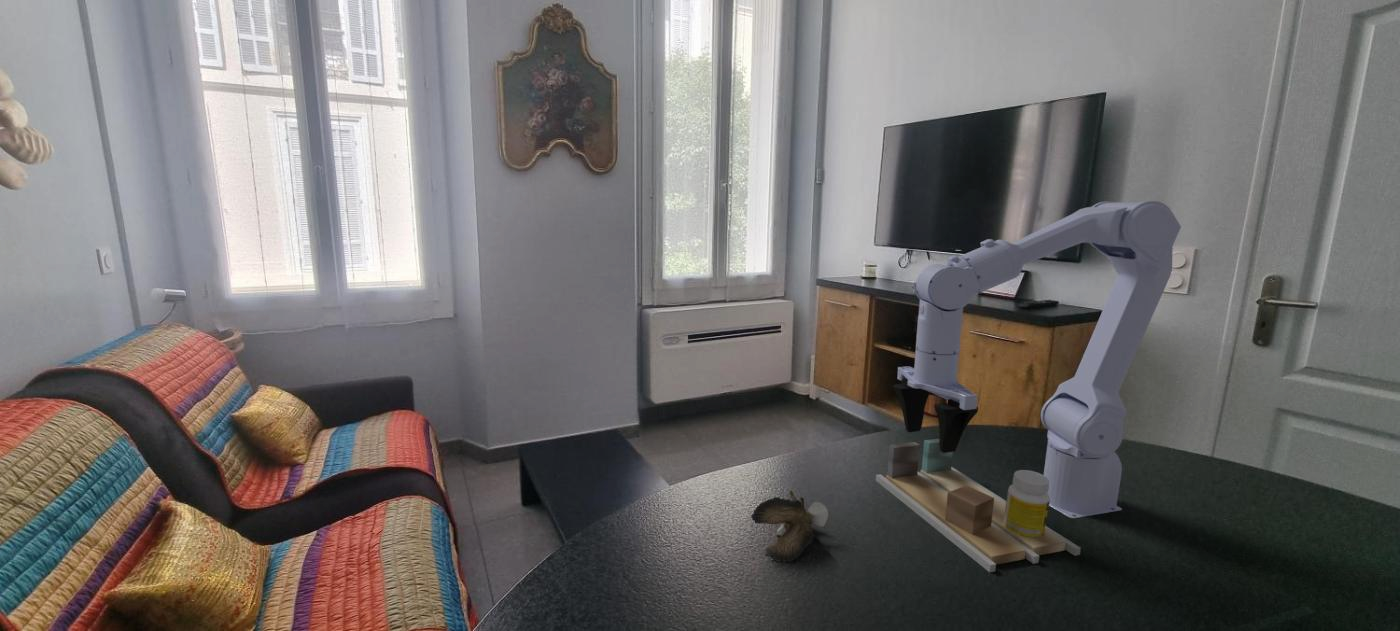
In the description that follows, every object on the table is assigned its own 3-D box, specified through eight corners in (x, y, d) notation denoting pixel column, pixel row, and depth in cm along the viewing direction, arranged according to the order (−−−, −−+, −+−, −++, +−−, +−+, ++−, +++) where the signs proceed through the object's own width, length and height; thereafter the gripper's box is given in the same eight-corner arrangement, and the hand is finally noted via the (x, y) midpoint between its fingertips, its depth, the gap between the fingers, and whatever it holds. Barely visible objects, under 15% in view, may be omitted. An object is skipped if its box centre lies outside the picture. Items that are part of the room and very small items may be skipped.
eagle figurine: (773, 508, 81) (737, 524, 73) (803, 475, 78) (769, 487, 71) (810, 554, 77) (776, 575, 70) (843, 521, 74) (811, 539, 67)
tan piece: (946, 473, 93) (949, 437, 92) (1064, 550, 72) (1071, 505, 71) (919, 476, 92) (923, 440, 90) (1032, 556, 71) (1038, 510, 70)
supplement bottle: (1048, 548, 73) (1059, 488, 71) (1008, 543, 74) (1017, 484, 72) (1035, 527, 77) (1044, 470, 75) (997, 522, 78) (1005, 466, 76)
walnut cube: (963, 512, 79) (966, 485, 78) (991, 526, 75) (994, 498, 75) (945, 520, 77) (947, 492, 76) (972, 534, 73) (975, 505, 73)
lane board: (948, 473, 94) (949, 465, 94) (1079, 558, 71) (1080, 547, 71) (875, 483, 91) (876, 474, 90) (989, 576, 68) (990, 565, 68)
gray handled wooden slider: (913, 478, 91) (916, 441, 90) (1024, 559, 70) (1030, 512, 69) (885, 482, 90) (888, 445, 89) (991, 565, 69) (996, 518, 68)
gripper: (882, 340, 87) (877, 425, 89) (949, 365, 73) (940, 465, 75) (922, 337, 89) (915, 420, 91) (994, 361, 75) (984, 458, 77)
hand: (929, 440), depth 83 cm, fingers open, 7 cm apart
